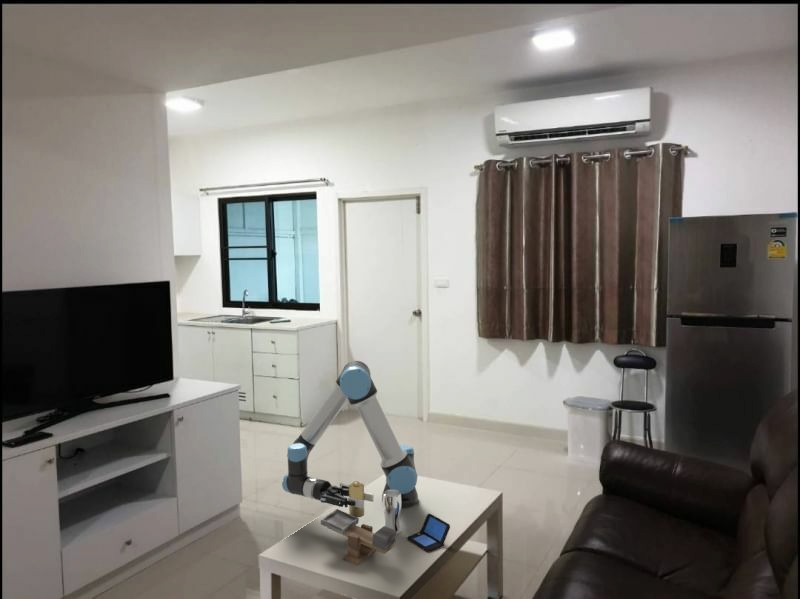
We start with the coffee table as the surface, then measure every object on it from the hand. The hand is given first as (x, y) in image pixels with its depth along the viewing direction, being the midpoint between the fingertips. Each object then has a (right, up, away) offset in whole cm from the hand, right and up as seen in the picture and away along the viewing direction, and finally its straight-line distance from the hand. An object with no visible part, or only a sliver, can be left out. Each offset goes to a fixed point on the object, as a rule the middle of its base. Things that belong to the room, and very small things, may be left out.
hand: (368, 501), depth 220 cm
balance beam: (-3, -8, -11) cm, 14 cm away
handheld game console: (+22, -14, -2) cm, 26 cm away
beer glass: (+9, -13, +6) cm, 17 cm away
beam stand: (-2, -15, -11) cm, 18 cm away
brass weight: (-4, -6, +3) cm, 8 cm away
